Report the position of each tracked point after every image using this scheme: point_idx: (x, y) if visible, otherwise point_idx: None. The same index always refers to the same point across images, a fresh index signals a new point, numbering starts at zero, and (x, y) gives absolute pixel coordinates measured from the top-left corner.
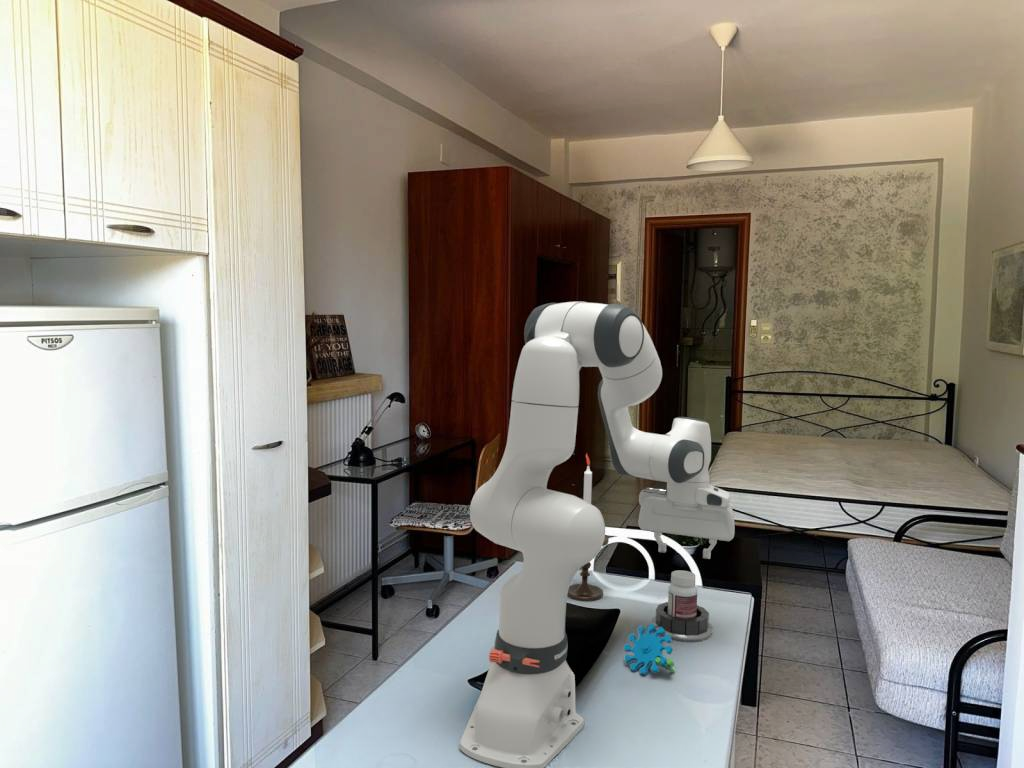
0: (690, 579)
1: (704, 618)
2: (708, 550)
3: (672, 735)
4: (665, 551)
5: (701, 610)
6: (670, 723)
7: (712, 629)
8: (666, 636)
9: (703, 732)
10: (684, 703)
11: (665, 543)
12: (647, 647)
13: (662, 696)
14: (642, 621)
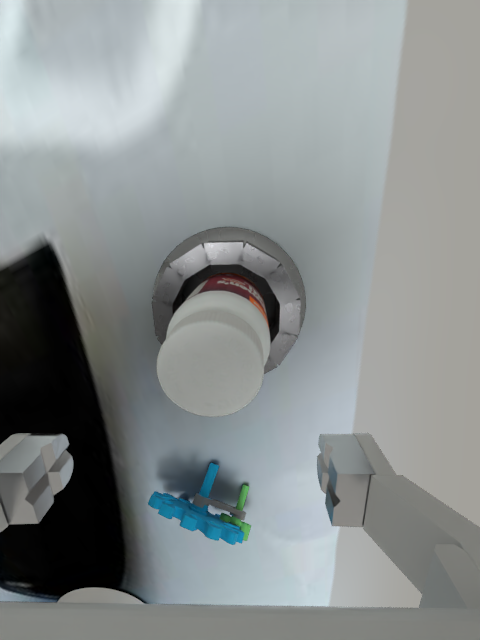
0: (247, 402)
1: (290, 342)
2: (376, 534)
3: (270, 605)
4: (66, 447)
5: (277, 288)
6: (264, 588)
7: (305, 304)
8: (227, 541)
9: (305, 592)
10: (275, 549)
11: (18, 481)
12: (196, 529)
13: (243, 544)
14: (131, 298)
